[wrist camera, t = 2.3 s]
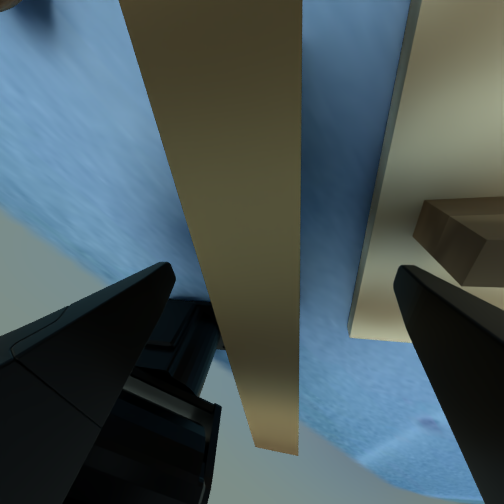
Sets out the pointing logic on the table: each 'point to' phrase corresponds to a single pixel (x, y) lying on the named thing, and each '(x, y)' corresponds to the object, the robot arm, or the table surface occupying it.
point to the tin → (8, 4)
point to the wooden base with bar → (438, 165)
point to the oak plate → (237, 178)
